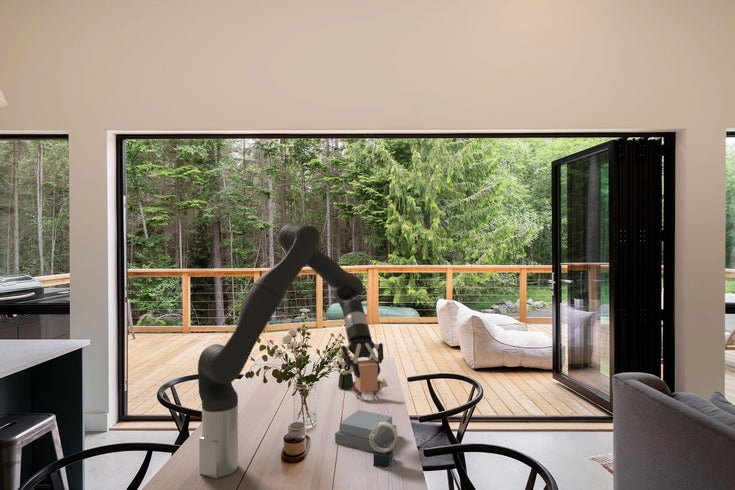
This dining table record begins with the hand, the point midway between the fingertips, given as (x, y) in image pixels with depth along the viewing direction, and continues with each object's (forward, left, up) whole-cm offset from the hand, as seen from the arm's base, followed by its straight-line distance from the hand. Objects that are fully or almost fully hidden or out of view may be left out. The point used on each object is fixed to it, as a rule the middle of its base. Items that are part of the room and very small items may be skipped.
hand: (368, 375), depth 144 cm
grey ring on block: (-10, -10, -21) cm, 25 cm away
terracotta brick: (+1, +1, -5) cm, 5 cm away
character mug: (+40, +31, -21) cm, 55 cm away
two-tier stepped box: (+1, +1, -20) cm, 20 cm away
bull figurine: (+33, +16, -21) cm, 42 cm away
